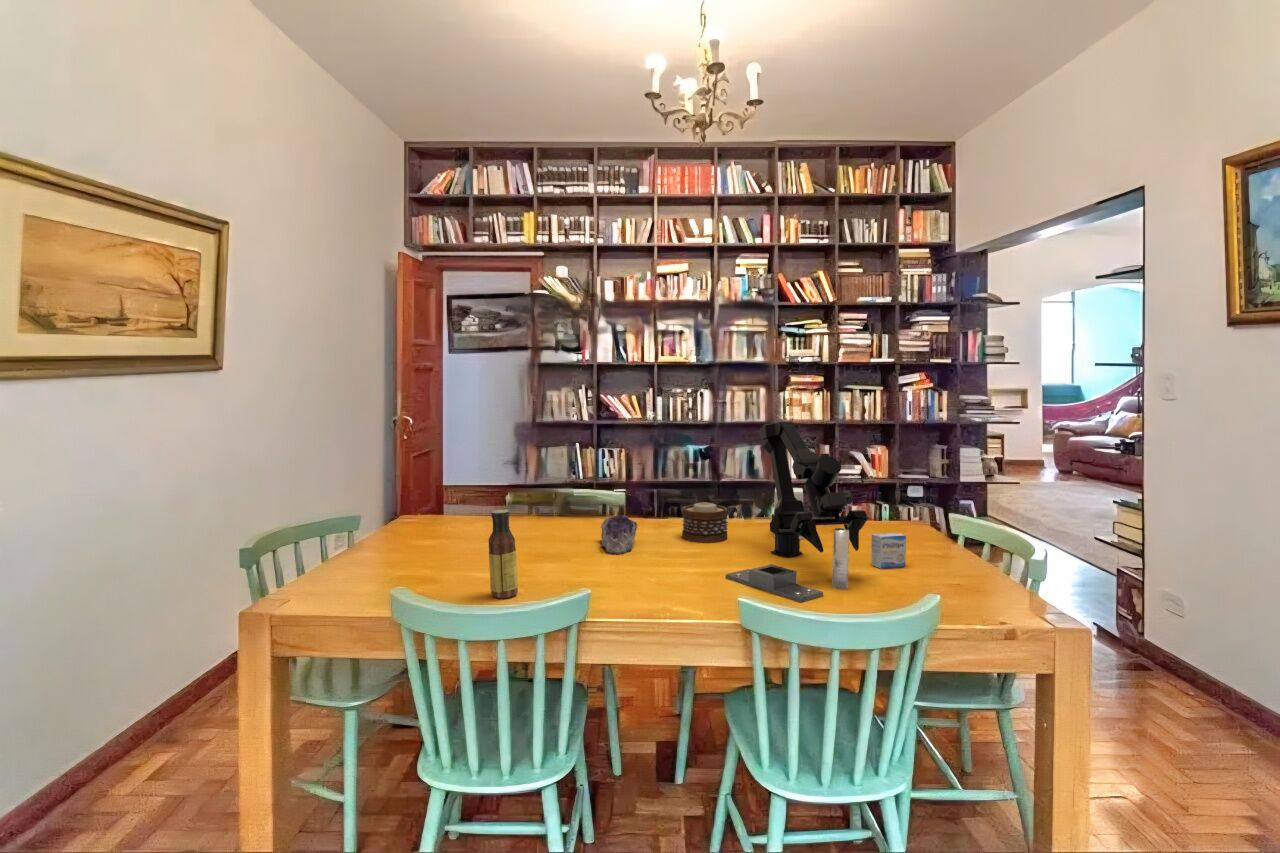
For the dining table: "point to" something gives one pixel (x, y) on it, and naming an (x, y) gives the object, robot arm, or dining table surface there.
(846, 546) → the pin
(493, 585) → the sauce bottle
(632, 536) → the geode
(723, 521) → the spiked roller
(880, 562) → the medicine box
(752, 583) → the grey socket base plate
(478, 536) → the dining table surface
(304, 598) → the dining table surface
